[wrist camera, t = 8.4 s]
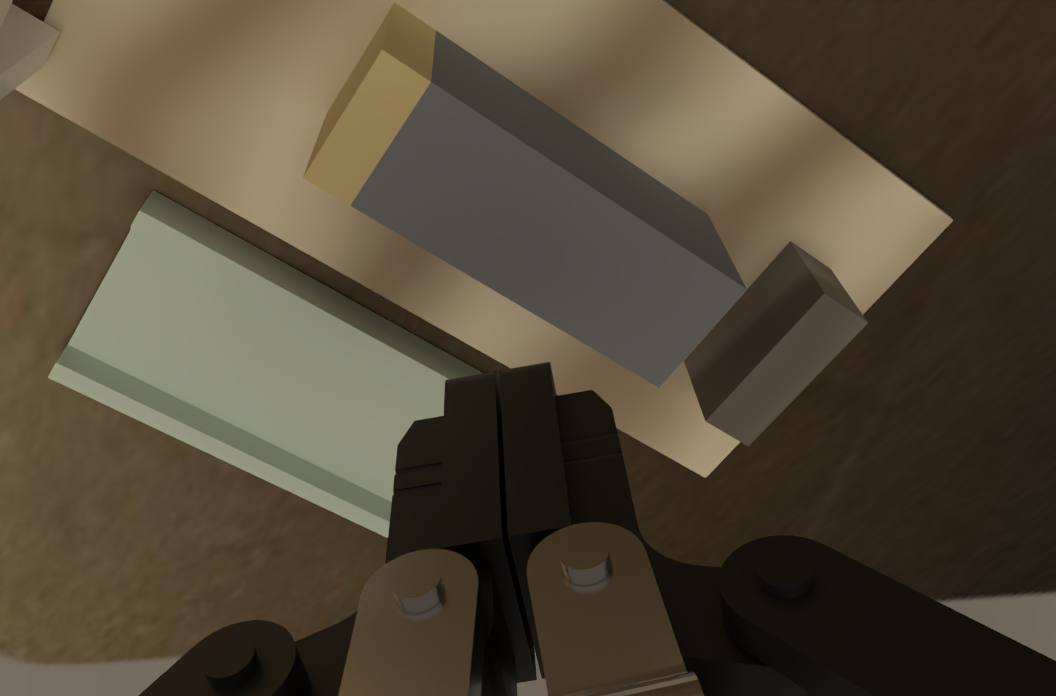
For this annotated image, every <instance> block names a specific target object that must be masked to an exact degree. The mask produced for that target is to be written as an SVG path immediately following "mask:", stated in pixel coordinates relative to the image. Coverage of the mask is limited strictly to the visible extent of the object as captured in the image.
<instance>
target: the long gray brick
mask: <svg viewBox="0 0 1056 696" xmlns="http://www.w3.org/2000/svg"><path fill="white" fill-rule="evenodd" d="M303 178H304V179H306V180H308V181H309V182H311V183H313V184H314V185H316V186H318V187H319V188H321V189H323V190H325V191H326V192H328V193H330V194H331V195H333V196H335V197H336V198H338V199H340V200H341V201H343V202H345V203H347V204H348V205H350V206H352V207H353V208H355V209H357V210H358V211H360V212H362V213H363V214H365V215H367V216H369V217H370V218H372V219H374V220H375V221H377V222H379V223H380V224H382V225H384V226H386V227H387V228H389V229H391V230H392V231H394V232H396V233H397V234H399V235H401V236H402V237H404V238H406V239H408V240H409V241H411V242H413V243H414V244H416V245H418V246H419V247H421V248H423V249H424V250H426V251H428V252H430V253H431V254H433V255H435V256H436V257H438V258H440V259H441V260H443V261H445V262H447V263H448V264H450V265H452V266H453V267H455V268H457V269H458V270H460V271H462V272H463V273H465V274H467V275H469V276H470V277H472V278H474V279H475V280H477V281H479V282H480V283H482V284H484V285H485V286H487V287H489V288H491V289H492V290H494V291H496V292H497V293H499V294H501V295H502V296H504V297H506V298H508V299H509V300H511V301H513V302H514V303H516V304H518V305H519V306H521V307H523V308H524V309H526V310H528V311H530V312H531V313H533V314H535V315H536V316H538V317H540V318H541V319H543V320H545V321H546V322H548V323H550V324H552V325H553V326H555V327H557V328H558V329H560V330H562V331H563V332H565V333H567V334H569V335H570V336H572V337H574V338H575V339H577V340H579V341H580V342H582V343H584V344H585V345H587V346H589V347H591V348H592V349H594V350H596V351H597V352H599V353H601V354H602V355H604V356H606V357H608V358H609V359H611V360H613V361H614V362H616V363H618V364H619V365H621V366H623V367H624V368H626V369H628V370H630V371H631V372H633V373H635V374H636V375H638V376H640V377H641V378H643V379H645V380H646V381H648V382H650V383H652V384H653V385H655V386H657V387H658V388H659V387H660V386H661V385H662V384H663V383H664V382H665V381H666V380H667V378H668V377H669V376H670V375H671V374H672V373H673V372H674V371H675V369H676V368H677V367H678V366H679V365H680V364H681V363H682V362H683V360H684V359H685V358H686V357H687V356H688V355H689V354H690V353H691V351H692V350H693V349H694V348H695V347H696V346H697V345H698V344H699V342H700V341H701V340H702V339H703V338H704V337H705V336H706V335H707V333H708V332H709V331H710V330H711V329H712V328H713V327H714V326H715V324H716V323H717V322H718V321H719V320H720V319H721V318H722V317H723V315H724V314H725V313H726V312H727V311H728V310H729V309H730V308H731V306H732V305H733V304H734V303H735V302H736V301H737V300H738V299H739V297H740V296H741V295H742V294H743V293H744V292H745V291H746V287H745V285H744V283H743V281H742V279H741V277H740V275H739V273H738V271H737V269H736V267H735V265H734V264H733V262H732V260H731V258H730V256H729V254H728V252H727V250H726V248H725V246H724V244H723V242H722V240H721V238H720V237H719V235H718V233H717V231H716V229H715V227H714V225H713V223H712V221H711V219H710V217H709V215H708V214H706V213H705V212H703V211H702V210H700V209H699V208H697V207H696V206H694V205H693V204H692V203H690V202H689V201H687V200H686V199H684V198H683V197H681V196H680V195H678V194H677V193H675V192H674V191H672V190H671V189H669V188H668V187H666V186H665V185H664V184H662V183H661V182H659V181H658V180H656V179H655V178H653V177H652V176H650V175H649V174H647V173H646V172H644V171H643V170H641V169H640V168H638V167H637V166H635V165H634V164H633V163H631V162H630V161H628V160H627V159H625V158H624V157H622V156H621V155H619V154H618V153H616V152H615V151H613V150H612V149H610V148H609V147H607V146H606V145H605V144H603V143H602V142H600V141H599V140H597V139H596V138H594V137H593V136H591V135H590V134H588V133H587V132H585V131H584V130H582V129H581V128H579V127H578V126H576V125H575V124H574V123H572V122H571V121H569V120H568V119H566V118H565V117H563V116H562V115H560V114H559V113H557V112H556V111H554V110H553V109H551V108H550V107H548V106H547V105H546V104H544V103H543V102H541V101H540V100H538V99H537V98H535V97H534V96H532V95H531V94H529V93H528V92H526V91H525V90H523V89H522V88H520V87H519V86H517V85H516V84H515V83H513V82H512V81H510V80H509V79H507V78H506V77H504V76H503V75H501V74H500V73H498V72H497V71H495V70H494V69H492V68H491V67H489V66H488V65H487V64H485V63H484V62H482V61H481V60H479V59H478V58H476V57H475V56H473V55H472V54H470V53H469V52H467V51H466V50H464V49H463V48H461V47H460V46H458V45H457V44H456V43H454V42H453V41H451V40H450V39H448V38H447V37H445V36H444V35H442V34H441V33H439V32H438V31H436V30H435V29H433V28H432V27H430V26H429V25H427V24H426V23H425V22H423V21H422V20H420V19H419V18H417V17H416V16H414V15H413V14H411V13H410V12H408V11H407V10H405V9H404V8H402V7H401V6H399V5H398V4H397V3H395V2H394V4H393V6H392V7H391V9H390V11H389V12H388V14H387V15H386V17H385V19H384V20H383V22H382V24H381V25H380V27H379V29H378V30H377V32H376V33H375V35H374V37H373V38H372V40H371V42H370V43H369V45H368V47H367V48H366V50H365V51H364V53H363V55H362V56H361V58H360V60H359V61H358V63H357V64H356V66H355V68H354V69H353V71H352V73H351V74H350V76H349V78H348V79H347V81H346V82H345V84H344V86H343V87H342V89H341V91H340V92H339V94H338V96H337V97H336V99H335V100H334V102H333V104H332V105H331V107H330V109H329V110H328V112H327V114H326V116H325V119H324V121H323V124H322V127H321V130H320V132H319V135H318V138H317V140H316V143H315V146H314V149H313V151H312V154H311V157H310V160H309V162H308V165H307V168H306V170H305V173H304V176H303Z"/></svg>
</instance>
